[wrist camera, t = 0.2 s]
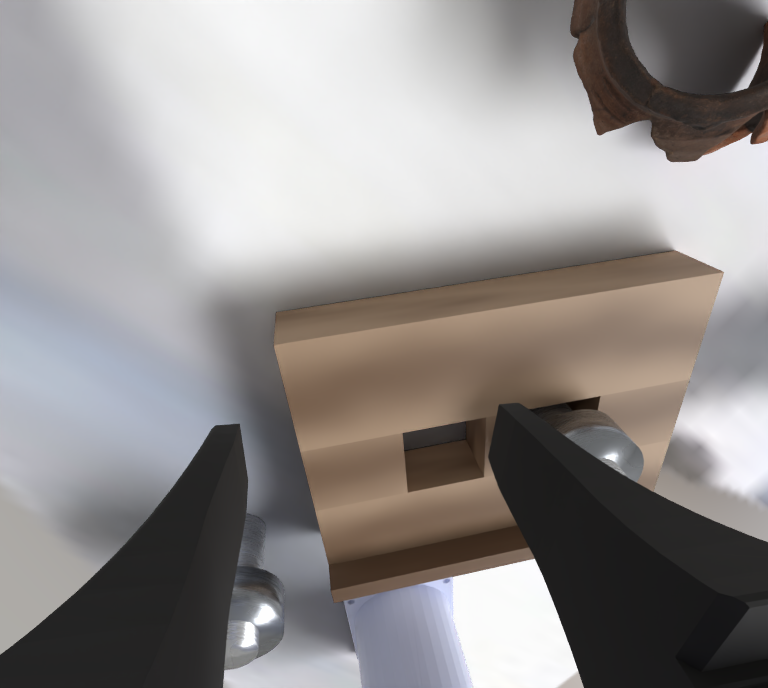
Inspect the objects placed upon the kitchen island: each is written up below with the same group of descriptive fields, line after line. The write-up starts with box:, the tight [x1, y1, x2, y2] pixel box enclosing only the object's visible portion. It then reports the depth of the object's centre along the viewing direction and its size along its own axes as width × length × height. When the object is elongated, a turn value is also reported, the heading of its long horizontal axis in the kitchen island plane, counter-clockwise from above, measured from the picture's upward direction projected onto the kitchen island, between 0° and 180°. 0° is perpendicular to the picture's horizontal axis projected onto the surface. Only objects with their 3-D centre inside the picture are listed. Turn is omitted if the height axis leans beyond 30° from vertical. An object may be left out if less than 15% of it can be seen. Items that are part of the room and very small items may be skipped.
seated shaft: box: [529, 403, 644, 482], centre depth 23 cm, size 5×5×7 cm
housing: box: [274, 251, 724, 603], centre depth 24 cm, size 16×20×4 cm
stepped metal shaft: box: [224, 514, 284, 670], centre depth 25 cm, size 5×5×7 cm
